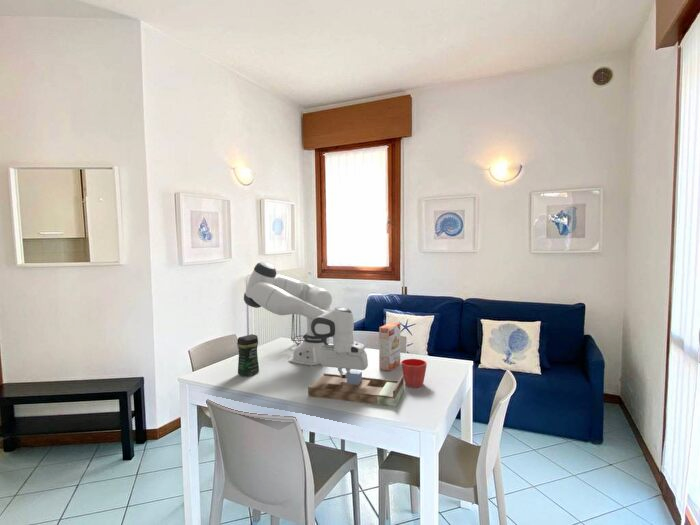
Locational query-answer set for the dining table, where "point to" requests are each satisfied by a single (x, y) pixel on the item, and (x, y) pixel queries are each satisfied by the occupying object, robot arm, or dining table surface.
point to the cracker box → (389, 346)
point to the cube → (354, 377)
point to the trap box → (358, 390)
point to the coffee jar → (248, 355)
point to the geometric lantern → (296, 329)
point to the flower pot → (413, 372)
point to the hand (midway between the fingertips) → (344, 378)
